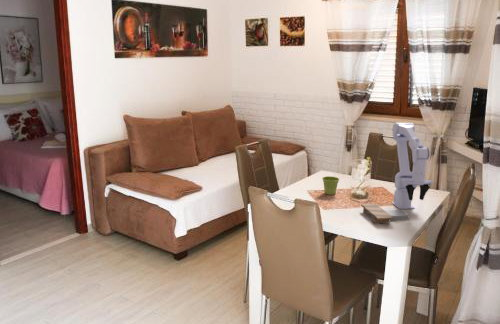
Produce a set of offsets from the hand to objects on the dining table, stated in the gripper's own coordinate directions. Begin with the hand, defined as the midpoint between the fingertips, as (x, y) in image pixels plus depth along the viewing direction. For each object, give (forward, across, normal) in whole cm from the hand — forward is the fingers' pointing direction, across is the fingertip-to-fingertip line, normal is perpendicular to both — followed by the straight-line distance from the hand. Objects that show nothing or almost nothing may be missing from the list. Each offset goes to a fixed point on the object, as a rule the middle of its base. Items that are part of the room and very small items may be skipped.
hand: (415, 199), depth 219 cm
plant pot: (+9, -30, +40) cm, 50 cm away
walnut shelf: (+8, -20, 0) cm, 21 cm away
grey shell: (+8, -10, 0) cm, 13 cm away
